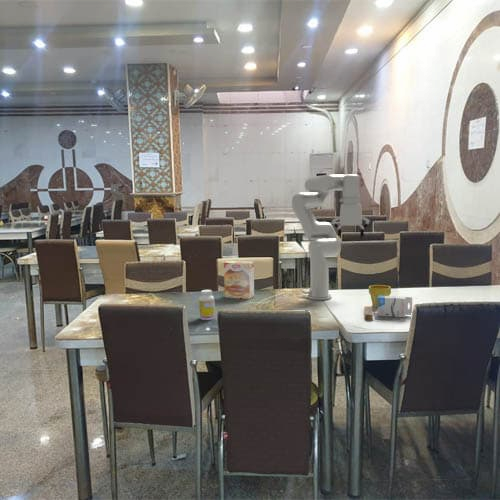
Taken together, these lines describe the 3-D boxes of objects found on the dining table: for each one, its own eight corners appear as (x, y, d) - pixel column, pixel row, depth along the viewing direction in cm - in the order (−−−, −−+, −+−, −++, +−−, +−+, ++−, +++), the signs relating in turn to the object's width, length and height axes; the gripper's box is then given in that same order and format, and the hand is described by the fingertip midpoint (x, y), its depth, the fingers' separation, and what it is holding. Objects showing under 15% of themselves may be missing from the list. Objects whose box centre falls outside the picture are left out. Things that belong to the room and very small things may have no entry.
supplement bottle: (200, 316, 208) (199, 289, 207) (214, 316, 209) (213, 288, 207) (199, 320, 202) (198, 292, 200) (214, 320, 202) (213, 291, 201)
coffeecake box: (224, 297, 247) (223, 262, 245) (229, 294, 254) (228, 260, 252) (249, 299, 242) (249, 263, 240) (254, 296, 248) (254, 261, 246)
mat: (374, 319, 199) (374, 318, 199) (373, 313, 209) (373, 312, 209) (401, 320, 196) (401, 319, 196) (398, 313, 207) (398, 313, 207)
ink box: (377, 297, 201) (413, 298, 197) (377, 295, 206) (412, 296, 202) (377, 316, 202) (413, 317, 198) (377, 314, 207) (412, 315, 203)
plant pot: (366, 304, 227) (366, 284, 226) (387, 303, 227) (387, 284, 225) (371, 309, 217) (371, 288, 215) (393, 308, 216) (393, 288, 215)
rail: (365, 320, 198) (365, 314, 197) (364, 311, 212) (364, 306, 212) (372, 320, 197) (372, 314, 197) (371, 311, 211) (371, 306, 211)
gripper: (331, 201, 210) (331, 238, 212) (370, 201, 206) (370, 238, 208) (332, 201, 217) (332, 237, 219) (369, 200, 214) (369, 237, 216)
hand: (350, 237), depth 214 cm, fingers open, 9 cm apart
